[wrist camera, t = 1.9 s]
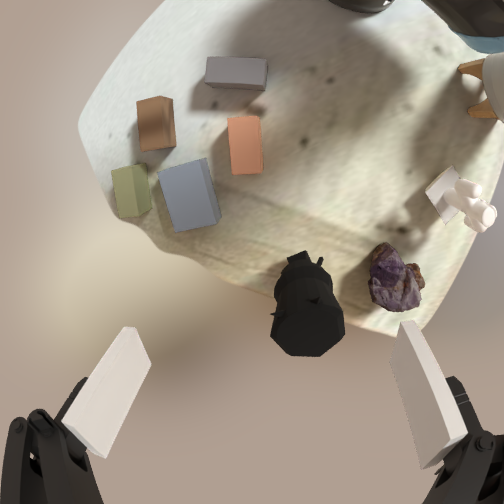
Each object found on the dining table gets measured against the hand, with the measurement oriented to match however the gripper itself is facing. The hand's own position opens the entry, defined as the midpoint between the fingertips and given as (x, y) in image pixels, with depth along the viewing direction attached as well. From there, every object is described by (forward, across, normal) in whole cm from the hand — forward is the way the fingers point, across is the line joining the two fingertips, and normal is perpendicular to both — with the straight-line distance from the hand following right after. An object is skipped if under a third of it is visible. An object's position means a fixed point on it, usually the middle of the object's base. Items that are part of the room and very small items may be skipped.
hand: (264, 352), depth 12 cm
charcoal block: (+33, -4, +20) cm, 39 cm away
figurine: (+33, +29, +1) cm, 44 cm away
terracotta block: (+33, -4, +9) cm, 34 cm away
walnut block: (+33, -17, +14) cm, 40 cm away
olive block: (+33, -23, +4) cm, 41 cm away
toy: (+33, +3, -10) cm, 35 cm away
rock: (+33, +19, -14) cm, 41 cm away
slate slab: (+33, -13, +2) cm, 36 cm away
